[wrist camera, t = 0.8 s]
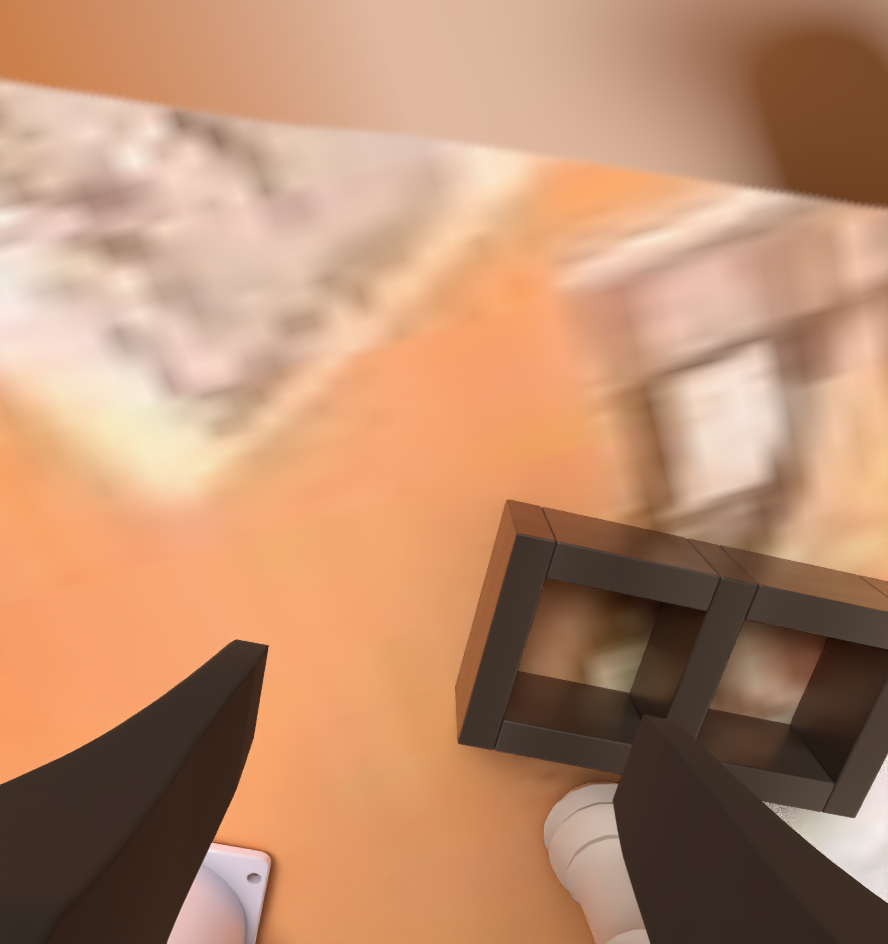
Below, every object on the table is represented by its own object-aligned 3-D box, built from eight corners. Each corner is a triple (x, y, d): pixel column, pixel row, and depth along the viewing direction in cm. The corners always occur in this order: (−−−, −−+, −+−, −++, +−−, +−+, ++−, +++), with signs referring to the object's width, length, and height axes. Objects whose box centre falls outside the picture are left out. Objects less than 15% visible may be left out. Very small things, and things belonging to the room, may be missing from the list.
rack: (889, 581, 23) (953, 626, 20) (807, 756, 25) (855, 819, 22) (506, 498, 22) (516, 532, 19) (454, 687, 24) (456, 744, 21)
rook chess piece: (677, 832, 26) (777, 1066, 18) (579, 883, 27) (636, 1130, 19) (618, 754, 25) (699, 968, 17) (518, 810, 26) (553, 1040, 18)
